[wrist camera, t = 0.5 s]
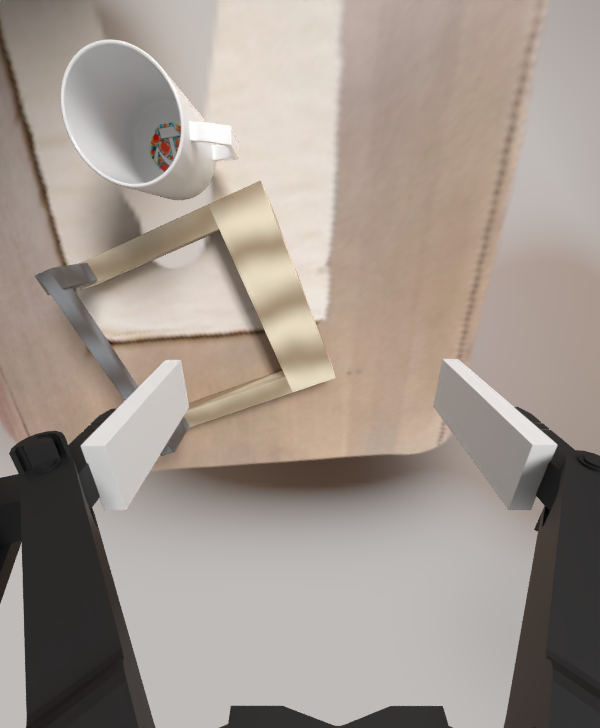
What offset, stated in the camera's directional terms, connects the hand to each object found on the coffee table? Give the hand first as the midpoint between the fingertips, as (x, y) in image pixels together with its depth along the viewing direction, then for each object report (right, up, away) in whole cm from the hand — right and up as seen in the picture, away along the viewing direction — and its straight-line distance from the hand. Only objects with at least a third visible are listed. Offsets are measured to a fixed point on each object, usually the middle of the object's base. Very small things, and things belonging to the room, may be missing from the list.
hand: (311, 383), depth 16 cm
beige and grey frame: (-12, +6, +24) cm, 28 cm away
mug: (-12, +23, +17) cm, 31 cm away
